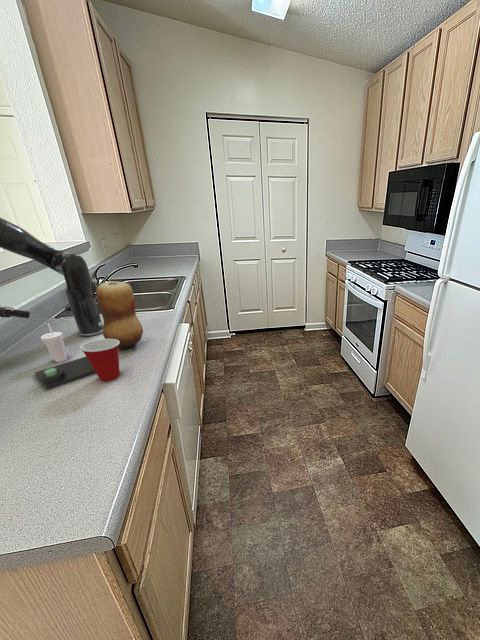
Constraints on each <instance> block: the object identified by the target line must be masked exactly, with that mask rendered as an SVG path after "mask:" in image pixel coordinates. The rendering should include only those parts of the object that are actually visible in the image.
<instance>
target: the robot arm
mask: <svg viewBox="0 0 480 640" xmlns="http://www.w3.org/2000/svg"><path fill="white" fill-rule="evenodd" d="M0 248H1V249H3V250H6V251H7V252H11V253H13V254H16V255H18V256H21V257H24V258H27V259H30V260H32V261H36V262H37V263H40V264H42V265H43V266H45V267H47V268H49V269H51V270H52V271H54V272H56V273H58V274H59V275H62V276H63V277H64V282H65V288H64V292H65V295H66V298H67V302H68V303H69V304H68V305H67V304H66V305H67V306H66V305H65V308H66V309H67V310H70V311H71V313H72V315H73V318H74V321H75V324H76V327H77V331H78V334H79V336H80V337H92V336H97V335H101V334H103V326H104V323H103V321H102V318H101V313H100V310H99V307H98V305H97V304H98V303H97V301H96V299H95V298H96V297H95V295H94V292H93V287H92V286H93V282H92V278H91V275H90V270H89V267H88V264H87V262H86V260H85V259H84V257H82V256H81V255H79V254H78V253H73V252H67V251H65V250H64V251H63V250H61V249H58V248H55V247H53V246H51V245H48V244H47V243H45V242H43V241H41V240H39V239H38V238H36V237H35V236H34V235H33V234H31V233H30V232H29V231H27V230H26V229H24V228H22V227H20V226H19V225H16V223H12V222H11V221H8V220H6V219H4V218H3V217H0ZM30 315H31V312H30V311H29V310H21V309H16V308H14V307H10V306H6V305H2V304H1V305H0V318H21V319H22V318H23V319H29V318H30V317H31V316H30Z"/></svg>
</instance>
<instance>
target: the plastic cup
mask: <svg viewBox="0 0 480 640" xmlns="http://www.w3.org/2000/svg"><path fill="white" fill-rule="evenodd" d="M119 343H120V342H119V340H116V339H105V338H100V339H94V340H90V341H87V342H85V343H82V344H81V345H80V346H79V349H80V351H81V352H82V353H83V354H84V355H85V357H87V358H88V360H89V362H90V364H91V365H92V367H93V369H94V371H95V372H96V373H95V374H96V376H97V377H98V379H99V380H100V381H101V382H111V381H114V380H116V379H118V378H119V377H120V373H121V372H120V359H119V358H120V357H119V349H118V348H119V347H118V346H119Z"/></svg>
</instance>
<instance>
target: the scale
mask: <svg viewBox="0 0 480 640" xmlns="http://www.w3.org/2000/svg"><path fill="white" fill-rule="evenodd" d="M51 368H56V369H57V372H58V374H56V375H54V376H50V377H46V375H45V373H44V372H45V371H46V370H48V369H51ZM34 374H35V376H36V377H37V378H38V380H39V381H40V383H41V384H42V385H43V386H44V388H45V389H46V390H48V391H49V390H51V389H54V388H57V387H60V386H62V385H65V384H68V383H71V382H74V381H77V380H80V379H84V378H86V377H90V376H92V375H95V374H96V372H95V371H94V369H93V367H92V365H91V364H90V362H89V360H88V358H87V357H86V356H83V357H79V358H77V359H73V360H69V361H67V362H63V363H60V364H57V365H54V366H50V367H47V368H44V369H40V370H37V371H34Z"/></svg>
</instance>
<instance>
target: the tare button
mask: <svg viewBox="0 0 480 640" xmlns="http://www.w3.org/2000/svg"><path fill="white" fill-rule="evenodd" d="M44 373H45V375H46V377H50V376H54V375H56V374H58V372H57V369H56V368H51V369H48V370H46V371H45V372H44Z"/></svg>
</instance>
